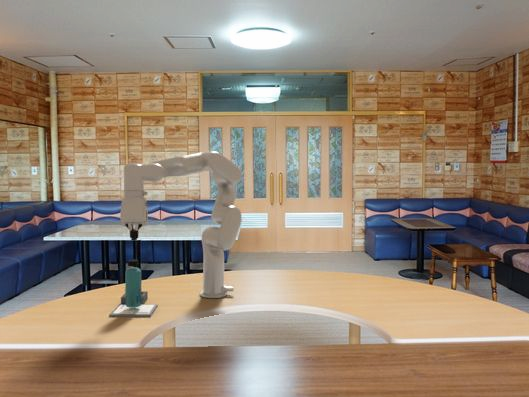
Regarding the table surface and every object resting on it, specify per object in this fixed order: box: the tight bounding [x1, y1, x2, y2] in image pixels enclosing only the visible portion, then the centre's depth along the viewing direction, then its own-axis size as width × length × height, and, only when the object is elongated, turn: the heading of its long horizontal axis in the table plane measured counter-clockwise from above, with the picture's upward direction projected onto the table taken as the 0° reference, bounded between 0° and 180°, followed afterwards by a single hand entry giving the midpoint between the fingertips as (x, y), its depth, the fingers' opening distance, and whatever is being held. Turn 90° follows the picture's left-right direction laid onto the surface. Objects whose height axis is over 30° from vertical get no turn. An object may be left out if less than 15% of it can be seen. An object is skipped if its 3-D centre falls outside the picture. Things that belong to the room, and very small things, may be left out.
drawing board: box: [108, 303, 159, 318], centre depth 175 cm, size 16×13×1 cm
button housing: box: [120, 290, 148, 304], centre depth 187 cm, size 9×9×4 cm
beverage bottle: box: [124, 259, 143, 308], centre depth 174 cm, size 6×7×20 cm
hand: (134, 239), depth 174 cm, fingers closed
